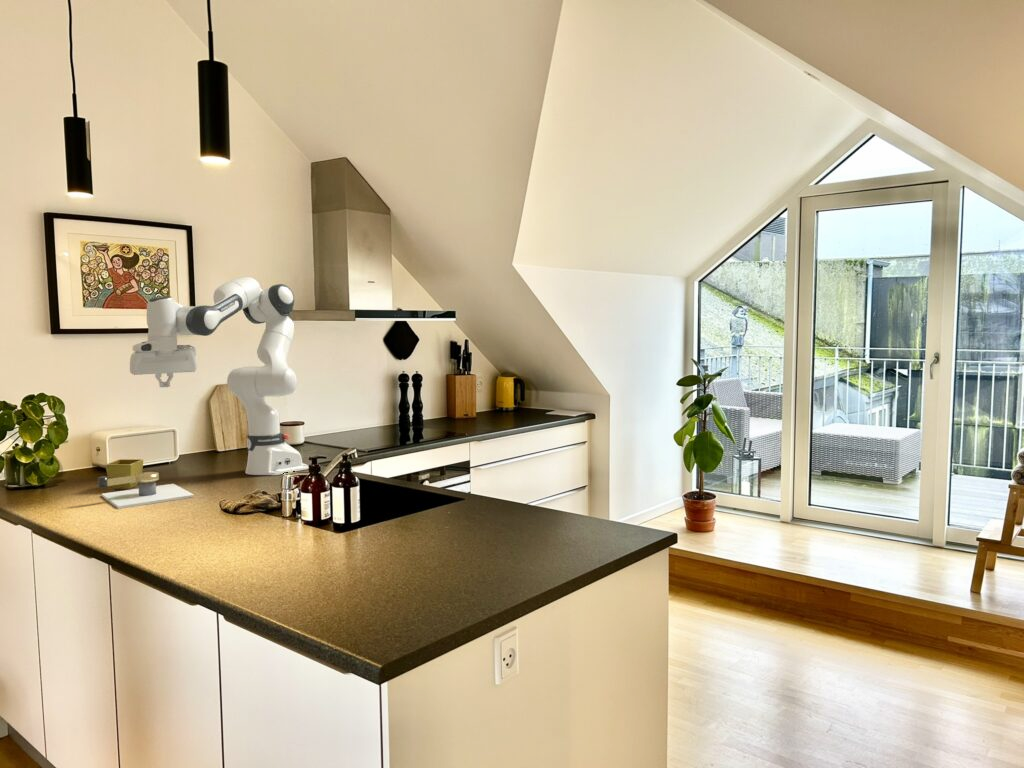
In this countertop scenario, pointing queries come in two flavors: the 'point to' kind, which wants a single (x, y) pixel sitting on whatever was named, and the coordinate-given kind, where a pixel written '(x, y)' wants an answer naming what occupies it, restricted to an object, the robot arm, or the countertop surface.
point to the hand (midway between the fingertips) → (164, 387)
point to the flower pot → (124, 471)
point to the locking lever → (129, 479)
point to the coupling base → (146, 495)
